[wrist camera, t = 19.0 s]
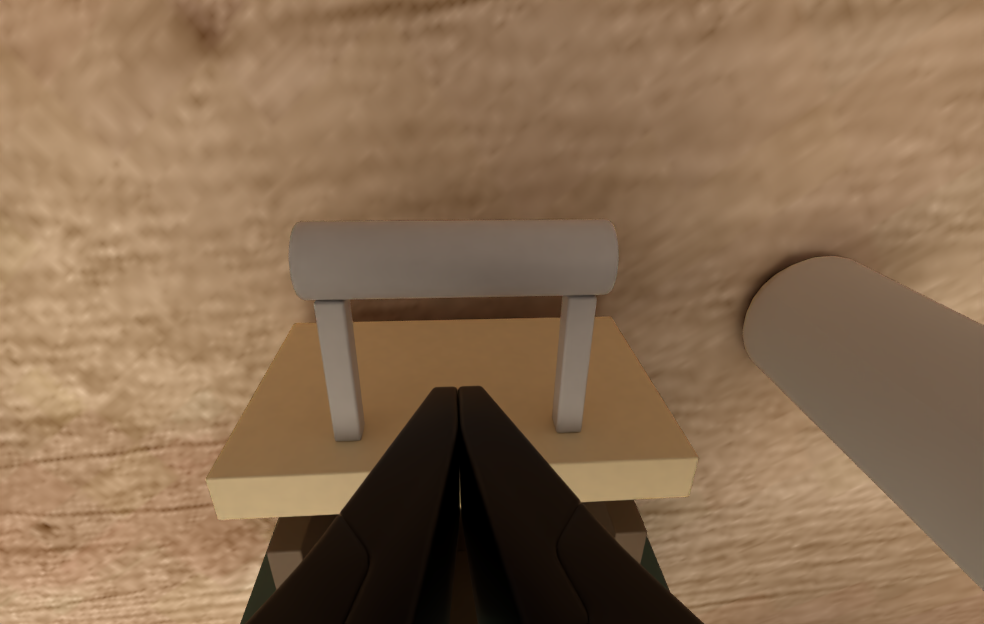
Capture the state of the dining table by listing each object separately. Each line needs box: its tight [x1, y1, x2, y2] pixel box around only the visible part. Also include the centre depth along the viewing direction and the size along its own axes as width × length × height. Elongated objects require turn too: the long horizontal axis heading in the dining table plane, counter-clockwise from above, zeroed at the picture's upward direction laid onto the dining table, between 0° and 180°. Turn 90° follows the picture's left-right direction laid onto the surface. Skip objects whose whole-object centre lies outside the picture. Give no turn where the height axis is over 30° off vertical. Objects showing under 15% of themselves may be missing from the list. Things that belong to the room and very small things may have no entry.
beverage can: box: [742, 256, 984, 591], centre depth 13 cm, size 5×5×12 cm
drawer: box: [206, 219, 699, 624], centre depth 15 cm, size 16×10×7 cm
